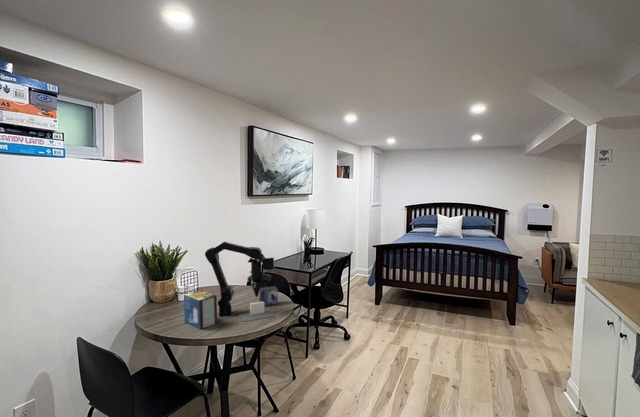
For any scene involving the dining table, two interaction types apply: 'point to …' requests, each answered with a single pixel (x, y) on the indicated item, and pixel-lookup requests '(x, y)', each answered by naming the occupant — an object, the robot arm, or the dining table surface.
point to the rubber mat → (256, 316)
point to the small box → (269, 296)
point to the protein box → (200, 309)
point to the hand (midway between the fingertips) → (256, 296)
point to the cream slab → (257, 308)
